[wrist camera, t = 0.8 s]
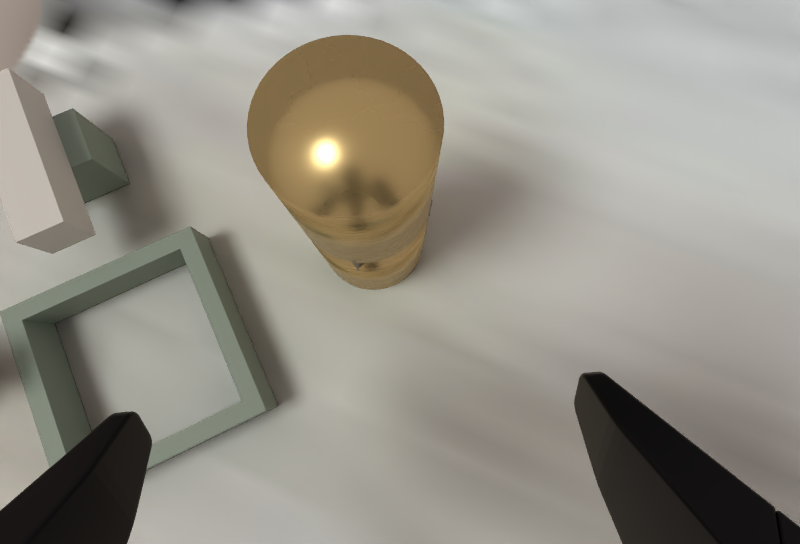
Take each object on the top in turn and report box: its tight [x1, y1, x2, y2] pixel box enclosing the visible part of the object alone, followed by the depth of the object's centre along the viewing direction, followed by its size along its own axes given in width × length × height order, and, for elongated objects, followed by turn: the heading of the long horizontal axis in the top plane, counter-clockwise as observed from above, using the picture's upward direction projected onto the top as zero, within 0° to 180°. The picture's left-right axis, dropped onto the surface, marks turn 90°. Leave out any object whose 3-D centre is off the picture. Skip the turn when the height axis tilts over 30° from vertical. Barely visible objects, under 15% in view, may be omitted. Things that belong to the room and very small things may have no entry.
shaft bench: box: [0, 68, 278, 470], centre depth 20 cm, size 18×17×5 cm
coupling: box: [247, 35, 444, 290], centre depth 18 cm, size 5×5×12 cm
